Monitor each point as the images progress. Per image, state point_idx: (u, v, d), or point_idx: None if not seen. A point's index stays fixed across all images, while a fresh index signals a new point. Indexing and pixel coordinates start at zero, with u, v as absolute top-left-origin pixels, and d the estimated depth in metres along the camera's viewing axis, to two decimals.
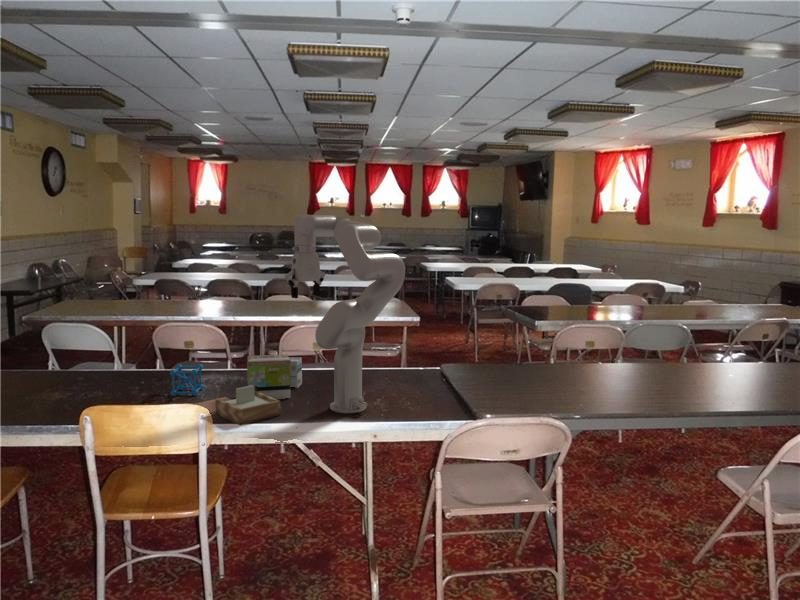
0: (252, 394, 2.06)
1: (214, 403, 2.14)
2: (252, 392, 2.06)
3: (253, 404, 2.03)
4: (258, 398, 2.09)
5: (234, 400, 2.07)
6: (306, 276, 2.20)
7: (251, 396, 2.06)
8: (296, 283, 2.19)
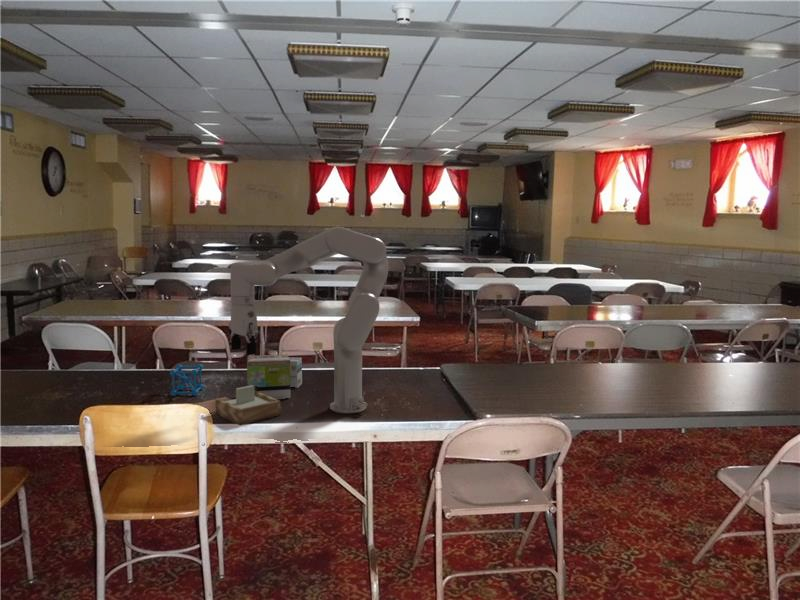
0: (252, 394, 2.06)
1: (214, 403, 2.14)
2: (252, 392, 2.06)
3: (253, 404, 2.03)
4: (258, 398, 2.09)
5: (234, 400, 2.07)
6: None
7: (251, 396, 2.06)
8: None
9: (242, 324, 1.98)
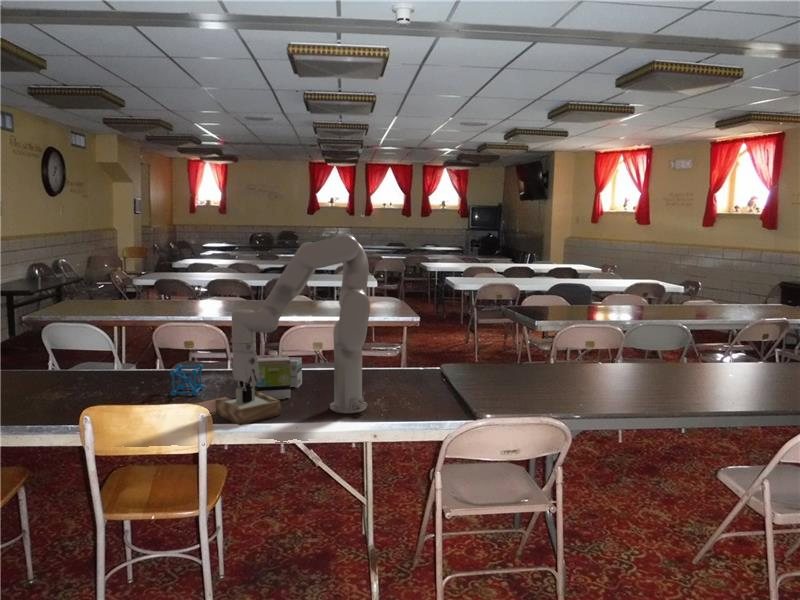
0: (252, 394, 2.06)
1: (214, 403, 2.14)
2: (252, 392, 2.06)
3: (253, 404, 2.03)
4: (258, 398, 2.09)
5: (234, 400, 2.07)
6: None
7: None
8: None
9: (244, 371, 2.00)
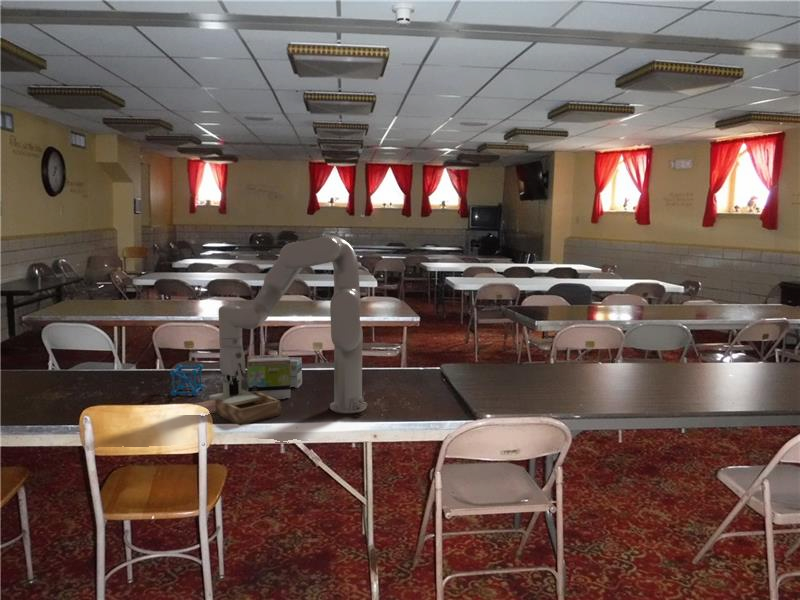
0: (239, 388, 2.13)
1: (214, 403, 2.14)
2: (239, 386, 2.13)
3: (240, 397, 2.09)
4: (245, 392, 2.16)
5: (221, 394, 2.13)
6: None
7: None
8: None
9: (230, 365, 2.06)
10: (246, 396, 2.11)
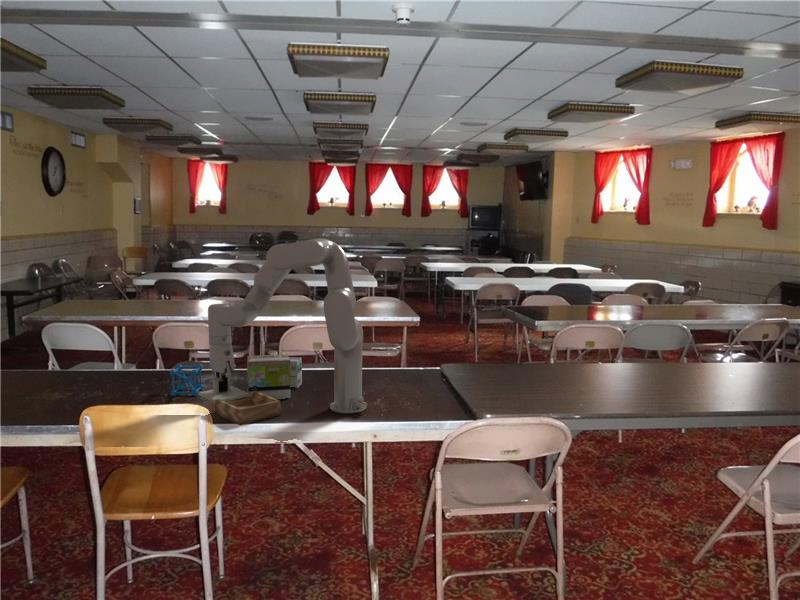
0: (228, 385, 2.16)
1: (214, 403, 2.14)
2: (228, 383, 2.16)
3: (229, 394, 2.13)
4: (234, 389, 2.20)
5: (211, 390, 2.17)
6: None
7: None
8: None
9: (219, 362, 2.10)
10: (235, 393, 2.14)
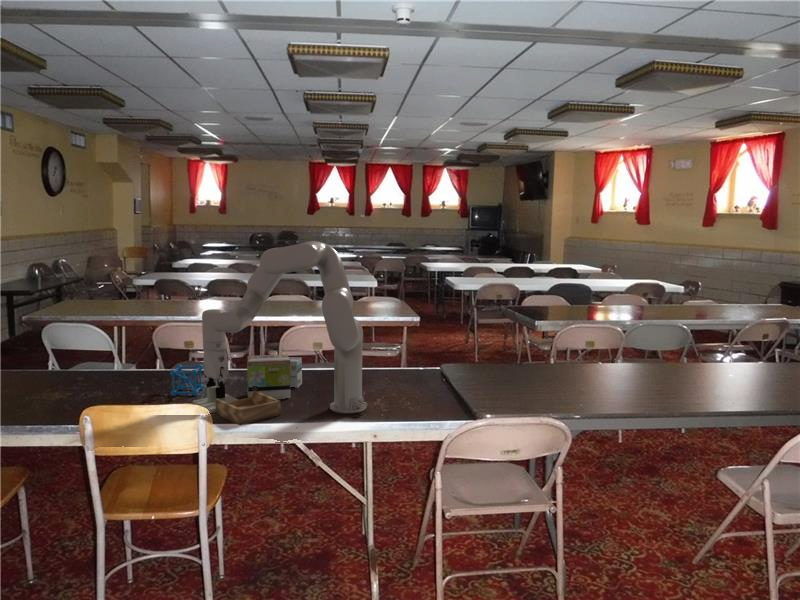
0: None
1: None
2: None
3: None
4: (229, 397, 2.18)
5: (205, 399, 2.16)
6: None
7: None
8: None
9: (213, 368, 2.09)
10: (230, 401, 2.13)
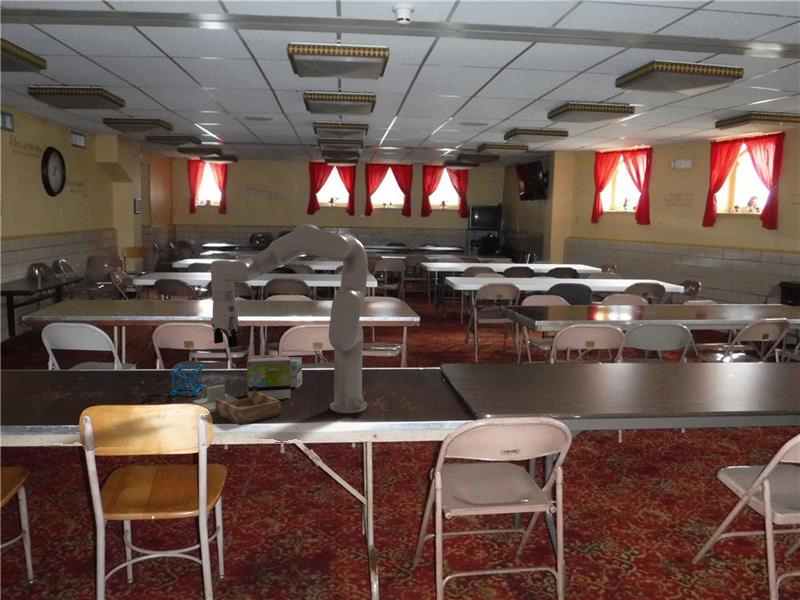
0: (223, 393, 2.15)
1: None
2: (223, 391, 2.15)
3: None
4: (229, 397, 2.18)
5: (205, 399, 2.16)
6: None
7: (222, 395, 2.15)
8: None
9: (223, 318, 2.09)
10: (230, 401, 2.13)
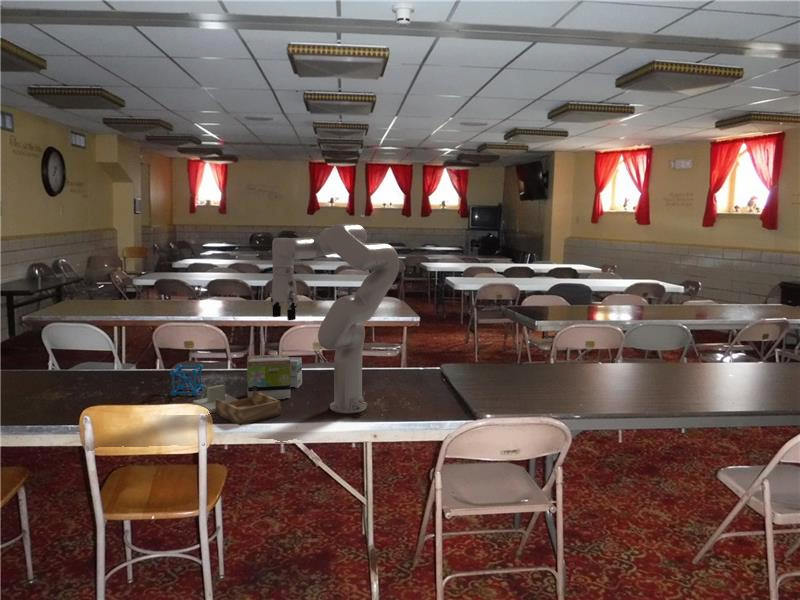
0: (223, 393, 2.15)
1: None
2: (223, 391, 2.15)
3: None
4: (229, 397, 2.18)
5: (205, 399, 2.16)
6: None
7: (222, 395, 2.15)
8: None
9: (283, 292, 2.21)
10: (230, 401, 2.13)
